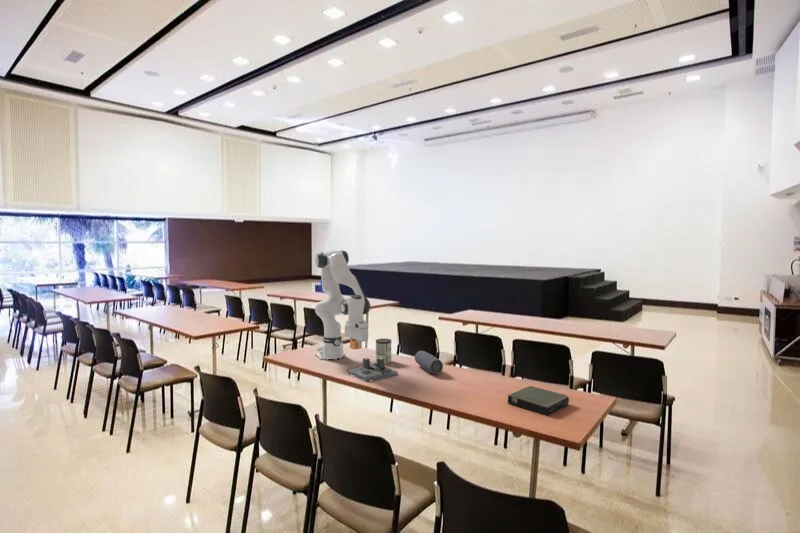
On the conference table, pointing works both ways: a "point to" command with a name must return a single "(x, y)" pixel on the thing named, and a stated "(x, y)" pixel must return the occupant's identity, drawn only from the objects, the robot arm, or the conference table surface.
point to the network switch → (538, 400)
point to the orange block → (354, 344)
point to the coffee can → (383, 350)
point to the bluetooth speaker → (428, 362)
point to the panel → (372, 372)
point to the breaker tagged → (366, 363)
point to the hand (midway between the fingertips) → (355, 346)
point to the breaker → (380, 362)
